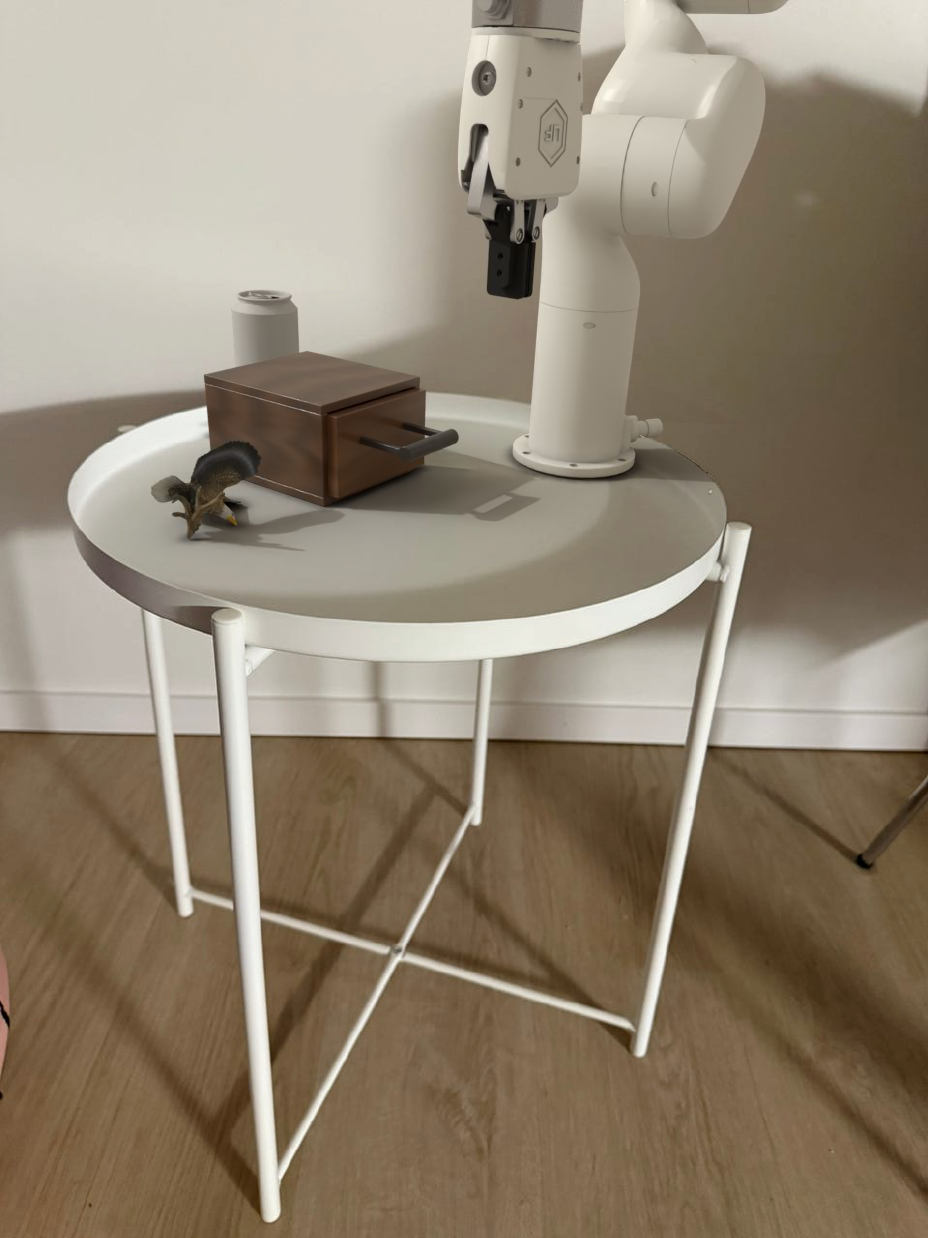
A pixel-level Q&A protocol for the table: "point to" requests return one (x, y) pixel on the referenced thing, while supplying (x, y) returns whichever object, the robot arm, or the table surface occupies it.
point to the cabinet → (293, 414)
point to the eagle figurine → (209, 483)
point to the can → (264, 326)
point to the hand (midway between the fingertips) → (509, 295)
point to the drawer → (379, 440)
